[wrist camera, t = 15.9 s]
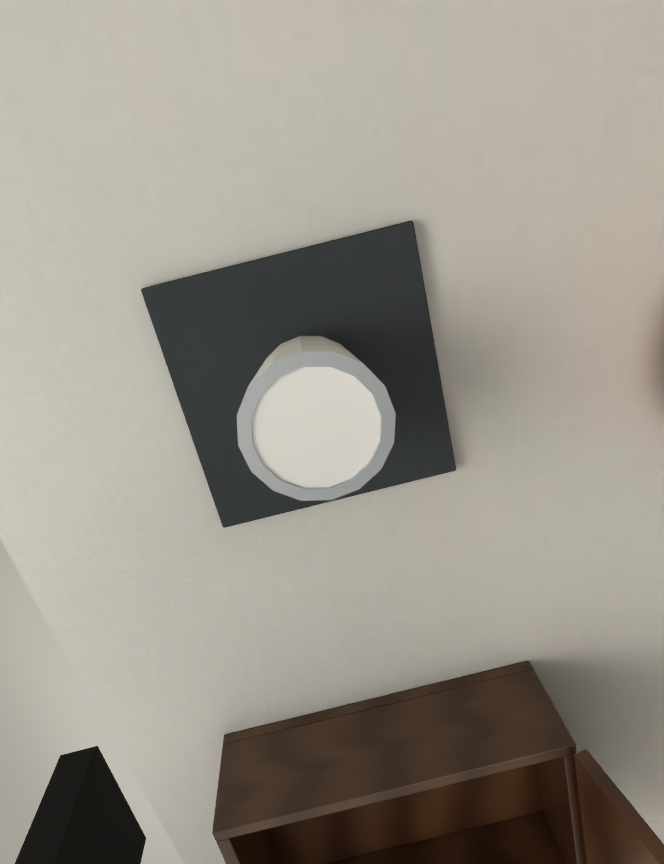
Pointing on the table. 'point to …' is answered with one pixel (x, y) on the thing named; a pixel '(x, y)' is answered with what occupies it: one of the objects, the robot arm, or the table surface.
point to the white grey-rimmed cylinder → (315, 421)
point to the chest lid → (612, 820)
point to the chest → (408, 780)
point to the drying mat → (292, 317)
